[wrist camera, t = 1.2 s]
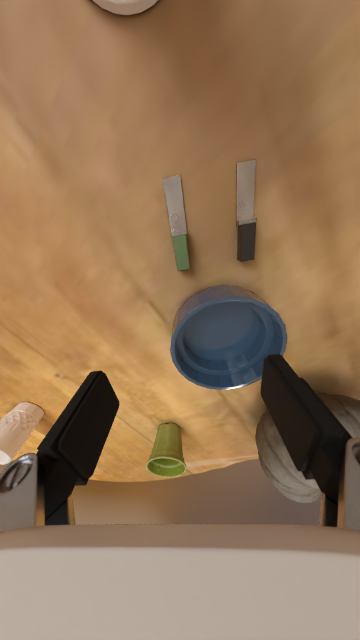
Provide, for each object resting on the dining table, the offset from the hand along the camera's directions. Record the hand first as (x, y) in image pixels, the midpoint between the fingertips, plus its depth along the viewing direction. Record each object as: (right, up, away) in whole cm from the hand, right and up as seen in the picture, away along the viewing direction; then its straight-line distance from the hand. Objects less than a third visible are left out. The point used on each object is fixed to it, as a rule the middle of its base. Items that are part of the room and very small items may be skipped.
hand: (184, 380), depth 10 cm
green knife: (0, +17, +13) cm, 21 cm away
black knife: (+8, +18, +12) cm, 23 cm away
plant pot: (-3, -26, +35) cm, 44 cm away
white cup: (-40, -20, +33) cm, 56 cm away
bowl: (+7, +2, +20) cm, 22 cm away
